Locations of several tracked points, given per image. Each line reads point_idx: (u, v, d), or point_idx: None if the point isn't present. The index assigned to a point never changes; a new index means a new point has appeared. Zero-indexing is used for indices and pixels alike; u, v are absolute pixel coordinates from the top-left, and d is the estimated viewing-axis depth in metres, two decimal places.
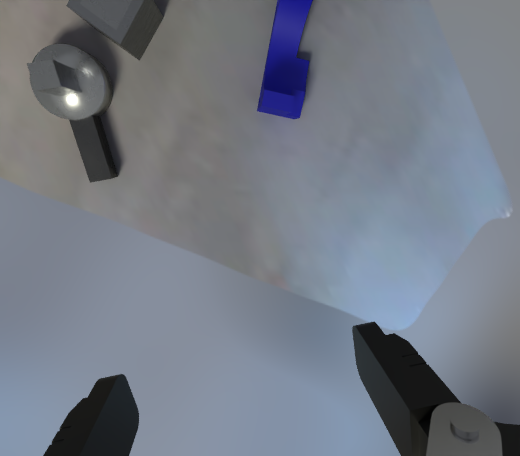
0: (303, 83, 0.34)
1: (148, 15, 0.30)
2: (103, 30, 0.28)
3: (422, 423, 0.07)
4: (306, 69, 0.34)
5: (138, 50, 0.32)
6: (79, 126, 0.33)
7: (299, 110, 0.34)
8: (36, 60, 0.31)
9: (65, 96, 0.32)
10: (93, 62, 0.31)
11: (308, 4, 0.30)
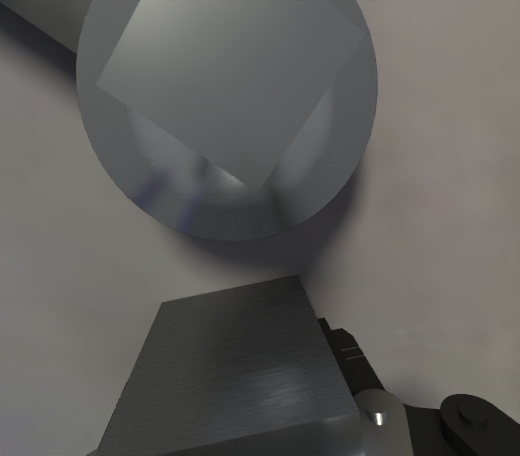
0: None
1: None
2: None
3: None
4: None
5: None
6: None
7: None
8: (366, 81, 0.08)
9: None
10: (212, 235, 0.08)
11: None
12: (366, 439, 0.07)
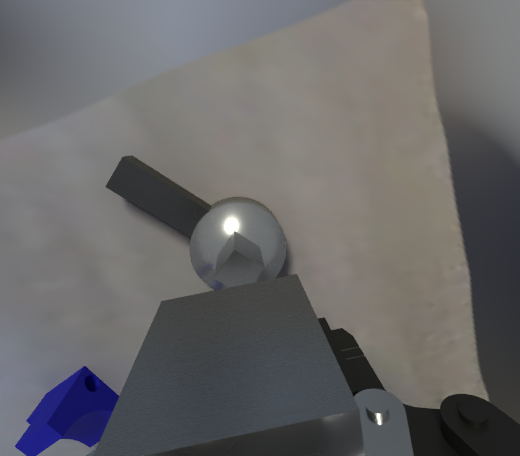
0: (67, 437, 0.27)
1: None
2: (180, 455, 0.06)
3: None
4: (83, 441, 0.28)
5: None
6: (192, 214, 0.22)
7: None
8: (282, 244, 0.23)
9: (228, 235, 0.22)
10: None
11: None
12: (366, 439, 0.07)
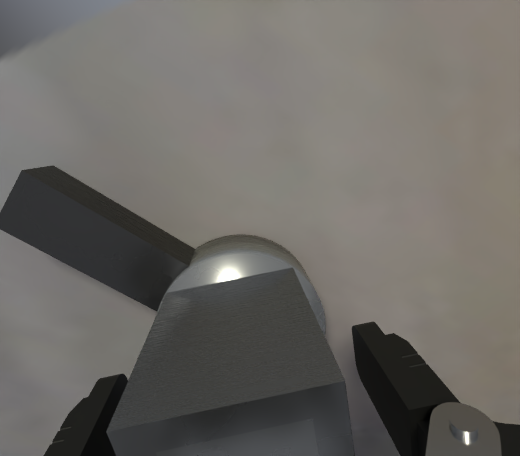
0: None
1: None
2: (187, 420, 0.06)
3: (421, 423, 0.07)
4: None
5: None
6: (159, 271, 0.12)
7: None
8: (318, 321, 0.13)
9: None
10: None
11: None
12: None
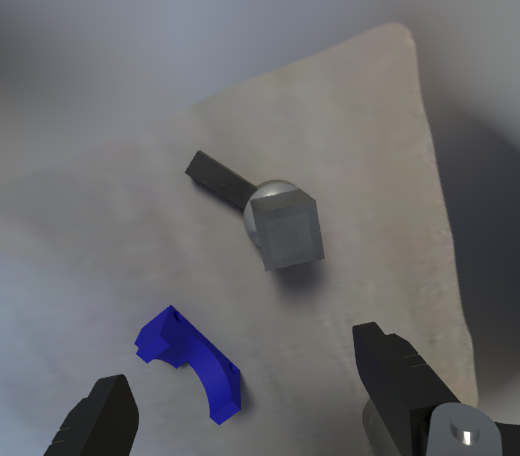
0: (161, 358, 0.35)
1: (260, 248, 0.28)
2: (274, 211, 0.25)
3: (422, 423, 0.07)
4: (171, 363, 0.36)
5: None
6: (246, 191, 0.31)
7: None
8: None
9: None
10: None
11: (209, 399, 0.35)
12: None
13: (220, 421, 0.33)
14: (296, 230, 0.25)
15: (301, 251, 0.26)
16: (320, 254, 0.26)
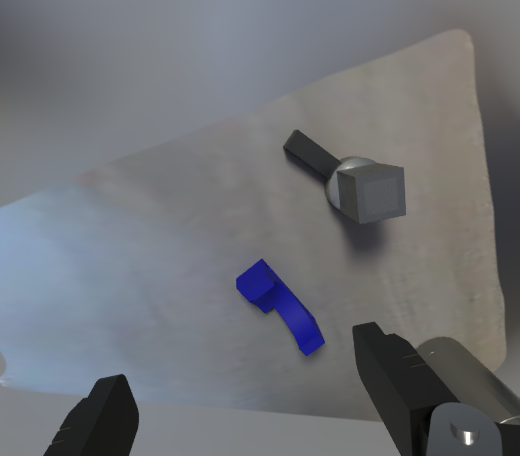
0: (255, 302, 0.42)
1: (350, 208, 0.35)
2: (371, 175, 0.32)
3: (422, 423, 0.07)
4: (261, 308, 0.43)
5: (341, 178, 0.36)
6: (332, 164, 0.37)
7: (241, 291, 0.40)
8: None
9: None
10: None
11: (296, 336, 0.41)
12: None
13: (308, 352, 0.40)
14: (386, 191, 0.32)
15: (388, 208, 0.33)
16: (403, 211, 0.33)
